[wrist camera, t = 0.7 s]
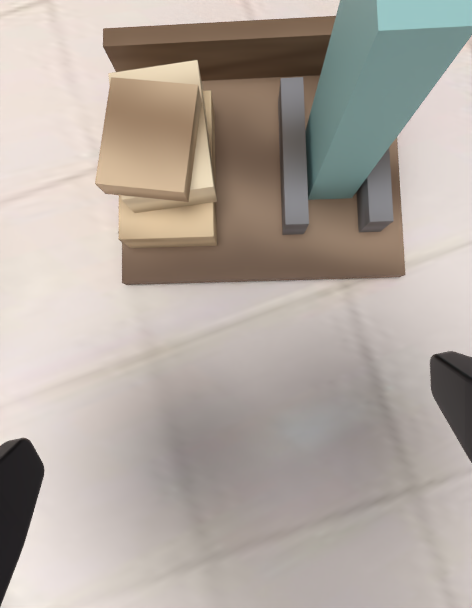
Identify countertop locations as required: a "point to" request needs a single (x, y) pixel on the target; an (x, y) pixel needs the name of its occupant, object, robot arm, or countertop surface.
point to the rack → (233, 159)
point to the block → (376, 83)
